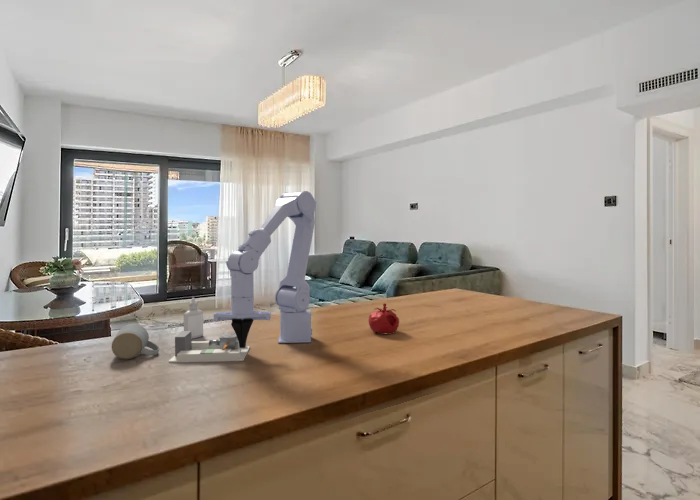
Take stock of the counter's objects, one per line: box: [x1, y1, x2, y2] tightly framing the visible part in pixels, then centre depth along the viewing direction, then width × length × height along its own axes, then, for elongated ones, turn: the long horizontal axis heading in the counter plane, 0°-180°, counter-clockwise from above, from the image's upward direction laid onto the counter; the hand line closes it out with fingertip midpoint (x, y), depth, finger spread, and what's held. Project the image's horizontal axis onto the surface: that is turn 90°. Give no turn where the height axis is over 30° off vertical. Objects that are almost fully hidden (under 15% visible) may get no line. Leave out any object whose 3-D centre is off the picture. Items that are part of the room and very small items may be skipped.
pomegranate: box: [368, 302, 400, 334], centre depth 131 cm, size 10×10×9 cm
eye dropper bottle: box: [183, 297, 204, 340], centre depth 123 cm, size 4×6×12 cm
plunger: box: [208, 332, 238, 350], centre depth 105 cm, size 7×9×4 cm
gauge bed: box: [168, 330, 251, 364], centre depth 106 cm, size 18×11×5 cm, turn 96°
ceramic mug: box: [111, 323, 160, 361], centre depth 105 cm, size 11×8×8 cm
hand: (242, 346), depth 108 cm, fingers closed
